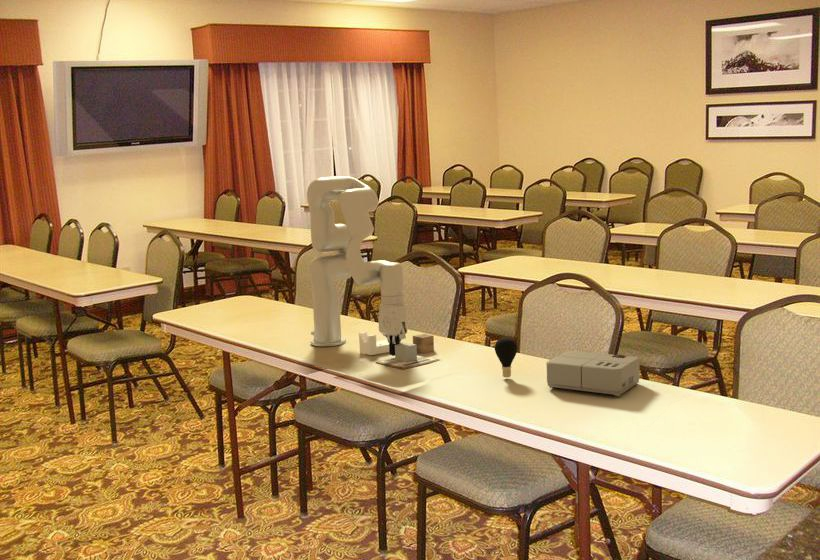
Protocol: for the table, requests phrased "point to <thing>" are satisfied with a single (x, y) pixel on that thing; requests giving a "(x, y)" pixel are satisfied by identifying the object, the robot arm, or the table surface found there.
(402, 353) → the block
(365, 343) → the bracket
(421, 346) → the walnut block
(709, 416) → the table surface
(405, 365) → the brown white flat panel
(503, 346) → the light bulb
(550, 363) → the projector
